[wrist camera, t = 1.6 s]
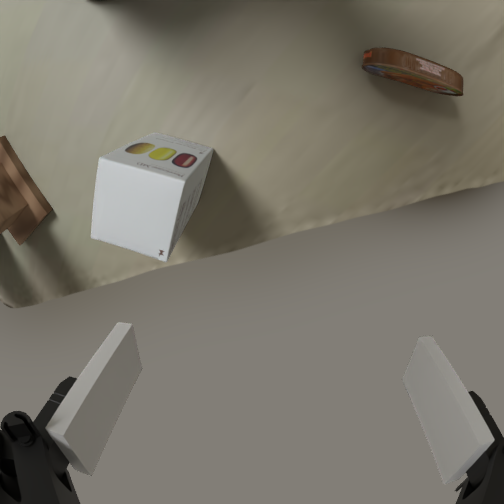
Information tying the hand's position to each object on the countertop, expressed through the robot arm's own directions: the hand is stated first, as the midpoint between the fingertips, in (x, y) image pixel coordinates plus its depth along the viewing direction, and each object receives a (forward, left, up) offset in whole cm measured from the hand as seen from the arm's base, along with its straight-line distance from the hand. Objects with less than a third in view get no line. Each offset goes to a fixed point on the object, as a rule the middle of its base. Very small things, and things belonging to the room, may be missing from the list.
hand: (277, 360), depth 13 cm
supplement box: (0, -13, -34) cm, 36 cm away
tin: (-15, +20, -34) cm, 42 cm away
